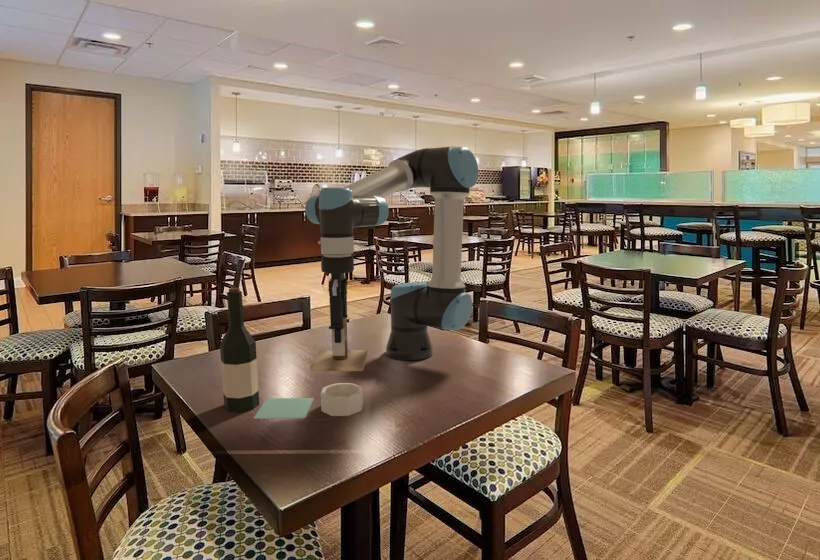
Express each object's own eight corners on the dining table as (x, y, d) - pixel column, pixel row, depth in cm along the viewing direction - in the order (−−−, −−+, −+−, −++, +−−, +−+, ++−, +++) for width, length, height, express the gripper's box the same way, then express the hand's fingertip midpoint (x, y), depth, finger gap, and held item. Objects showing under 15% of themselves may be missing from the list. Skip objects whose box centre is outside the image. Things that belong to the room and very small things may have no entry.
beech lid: (367, 354, 134) (366, 313, 133) (363, 370, 123) (362, 325, 121) (319, 354, 135) (318, 313, 133) (310, 371, 123) (308, 325, 121)
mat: (314, 400, 137) (314, 397, 137) (304, 420, 125) (304, 418, 125) (267, 400, 137) (267, 398, 137) (253, 420, 125) (253, 418, 125)
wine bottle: (244, 398, 138) (237, 284, 133) (266, 405, 134) (259, 287, 128) (217, 409, 131) (208, 289, 126) (239, 417, 127) (230, 293, 122)
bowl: (363, 401, 136) (363, 382, 135) (360, 418, 126) (359, 397, 125) (325, 402, 136) (325, 383, 135) (319, 418, 126) (318, 398, 125)
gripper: (326, 250, 132) (329, 342, 136) (314, 259, 116) (318, 363, 120) (357, 250, 132) (359, 342, 136) (349, 259, 116) (351, 363, 120)
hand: (340, 352), depth 128 cm, fingers closed on beech lid, 4 cm apart
